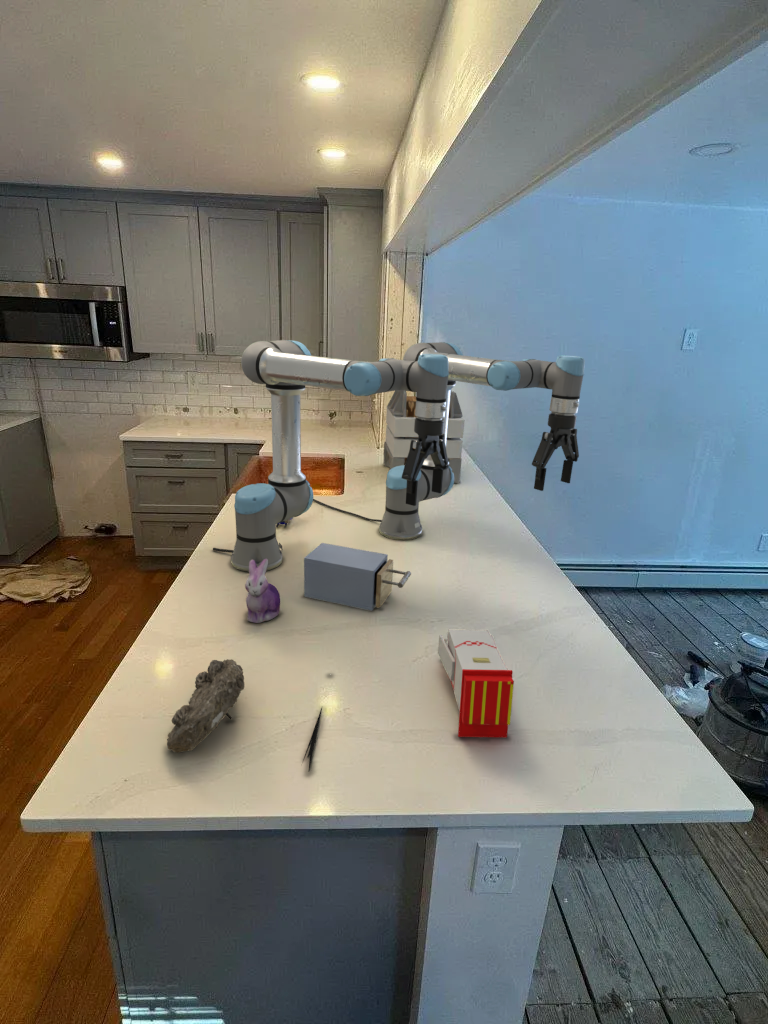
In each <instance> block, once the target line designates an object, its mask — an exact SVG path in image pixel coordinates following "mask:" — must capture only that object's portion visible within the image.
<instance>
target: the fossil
mask: <svg viewBox="0 0 768 1024" xmlns="http://www.w3.org/2000/svg"><path fill="white" fill-rule="evenodd" d="M243 670H244V669H243V667H242V665H240V664H237V662H236V661H235V660H234V659H232V658H231V659H227V658H226V659H224V660H223V661H222V660H217V659H212V660H211V661H210V663H209V665H208V666H207V671H201V672H199V673H198V674H197V675H196V676H195V680H194V684H195V685H194V687H195V689H194V690H193V693H192V694H191V697H190V698H189V700H188V704H184V705H182V706H181V707H180V709H177V710H176V711H175V713H174V715H173V716H172V718H171V723H172V724H173V727H172V730H171V731H170V732H168V734H167V738H166V741H167V742H166V745H167V749H168V750H169V751H173V752H174V753H176V754H178V753H182V752H188V751H189V752H192V751H193V750H195V748H196V747H197V746H199V744H200V743H201V742H203V741H204V740H205V739H206V738H207V737H208V736H209V735H210V734H211V733H212V732H214V730H215V729H217V727H218V726H219V724H220V722H221V721H222V720H223V719H224V718H225V716H226V717H227V719H229V720H233V717H232V715H230V714H229V710H230V709H231V708H234V706H235V704H236V703H237V702H238V699H239V697H240V695H241V693H242V691H243V690H245V689H244V688H245V675H244V671H243Z"/></svg>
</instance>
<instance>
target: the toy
mask: <svg viewBox="0 0 768 1024" xmlns="http://www.w3.org/2000/svg"><path fill="white" fill-rule="evenodd" d="M446 640H447V643H446V641H445V639H444V636H443V635H442V634H439V637H438V646H437V656H438V657H439V659H440V661H441V663H442V666H443V668H444V670H445V672H446V674H447V677H448V679H449V681H450V684H451V687H452V690H453V693H454V697H455V701H456V705H457V708H458V711H459V714H458V715H459V716H458V730H457V731H458V732H457V737H458V738H508V731H509V726H510V725H511V717H512V707H513V697H514V696H513V695H514V684H515V680H514V679H513V673H514V671H513V670H512V669H508V667H507V665H506V662H505V661H504V659H503V658H502V655H501V653H500V651H499V649H498V647H497V643H496V639H495V637H494V635H493V634H491V632H490V631H489V629H467V628H466V629H465V628H463V629H461V628H460V629H459V628H448V630H447V639H446Z"/></svg>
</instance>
